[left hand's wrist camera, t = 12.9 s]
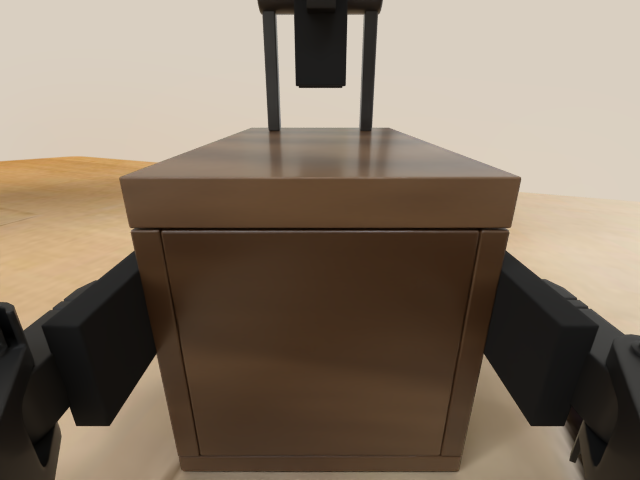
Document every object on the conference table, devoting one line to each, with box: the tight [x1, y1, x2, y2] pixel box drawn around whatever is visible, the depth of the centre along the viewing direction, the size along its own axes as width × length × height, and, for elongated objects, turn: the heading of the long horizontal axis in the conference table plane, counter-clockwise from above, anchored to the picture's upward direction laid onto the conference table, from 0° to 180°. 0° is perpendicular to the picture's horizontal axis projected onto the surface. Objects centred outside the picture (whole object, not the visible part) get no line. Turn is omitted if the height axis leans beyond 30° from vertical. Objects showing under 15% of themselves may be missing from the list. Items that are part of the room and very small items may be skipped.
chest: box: [131, 228, 509, 471], centre depth 18 cm, size 17×10×9 cm, turn 0°
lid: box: [119, 0, 521, 228], centre depth 15 cm, size 17×10×10 cm, turn 0°
